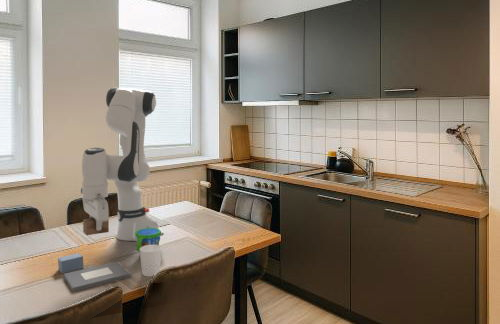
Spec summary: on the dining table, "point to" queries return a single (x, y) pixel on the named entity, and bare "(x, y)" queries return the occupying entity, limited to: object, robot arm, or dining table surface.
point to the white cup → (150, 259)
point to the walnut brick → (90, 226)
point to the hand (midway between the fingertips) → (96, 227)
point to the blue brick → (70, 263)
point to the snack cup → (147, 237)
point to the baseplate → (96, 276)
